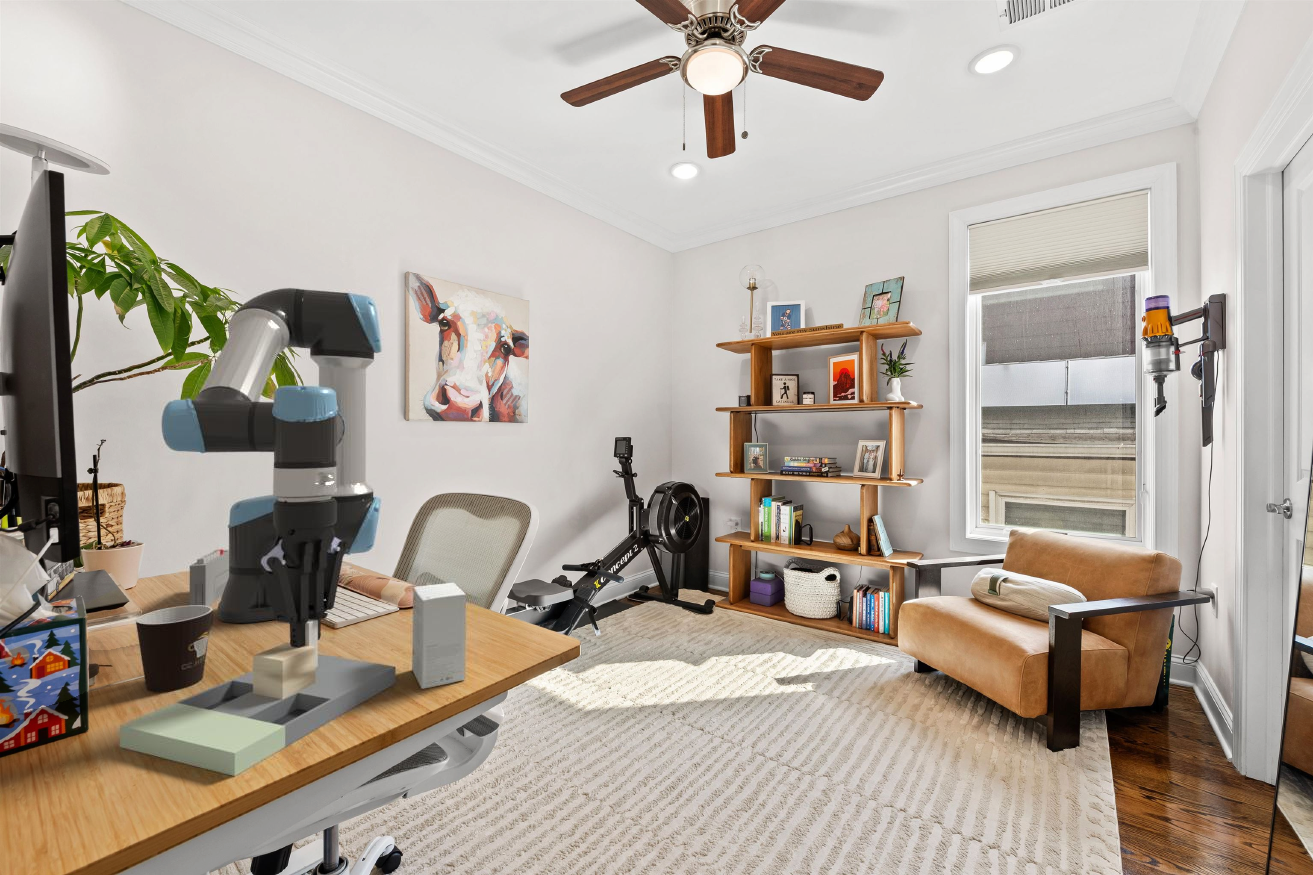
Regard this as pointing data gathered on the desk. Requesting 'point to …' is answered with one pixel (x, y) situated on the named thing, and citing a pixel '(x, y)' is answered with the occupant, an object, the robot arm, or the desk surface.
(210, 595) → the cassette player
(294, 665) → the maple block
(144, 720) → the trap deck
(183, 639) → the coffee mug
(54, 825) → the desk surface
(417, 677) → the small box
